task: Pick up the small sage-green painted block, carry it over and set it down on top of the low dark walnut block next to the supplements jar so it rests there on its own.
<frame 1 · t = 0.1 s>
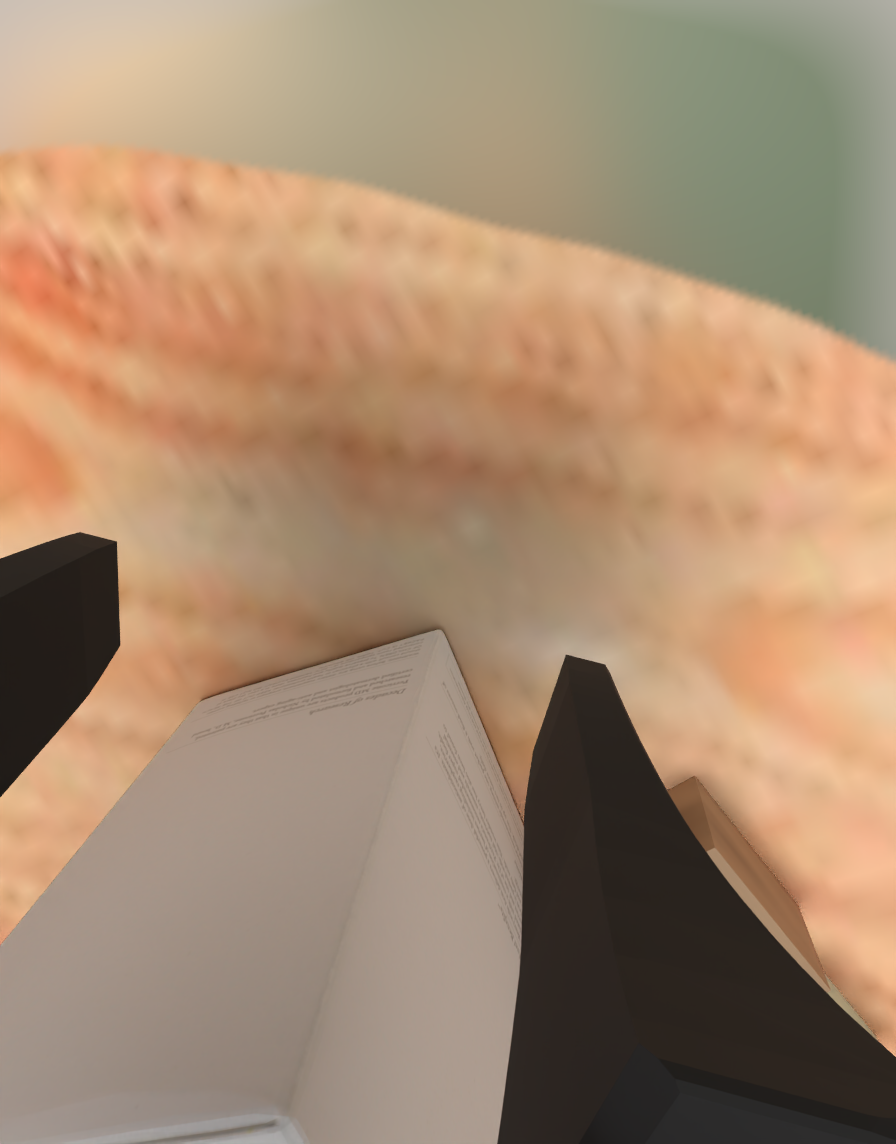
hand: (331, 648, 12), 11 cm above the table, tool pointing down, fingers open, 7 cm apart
supplement box: (368, 774, 26), on the table
sage block: (781, 1018, 27), on the table
walnut block: (665, 878, 26), on the table
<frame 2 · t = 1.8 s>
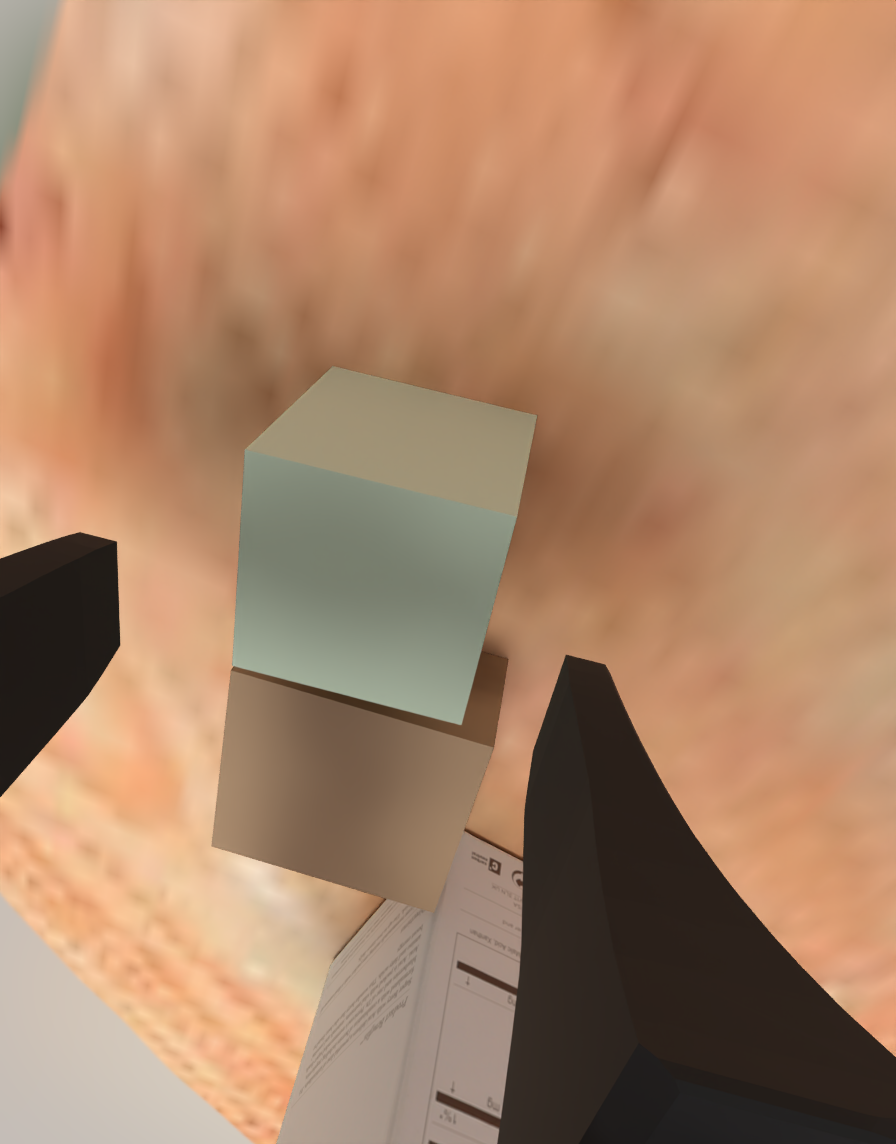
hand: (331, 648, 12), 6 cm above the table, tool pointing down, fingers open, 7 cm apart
supplement box: (504, 949, 26), on the table
sage block: (417, 483, 18), on the table
walnut block: (375, 707, 22), on the table
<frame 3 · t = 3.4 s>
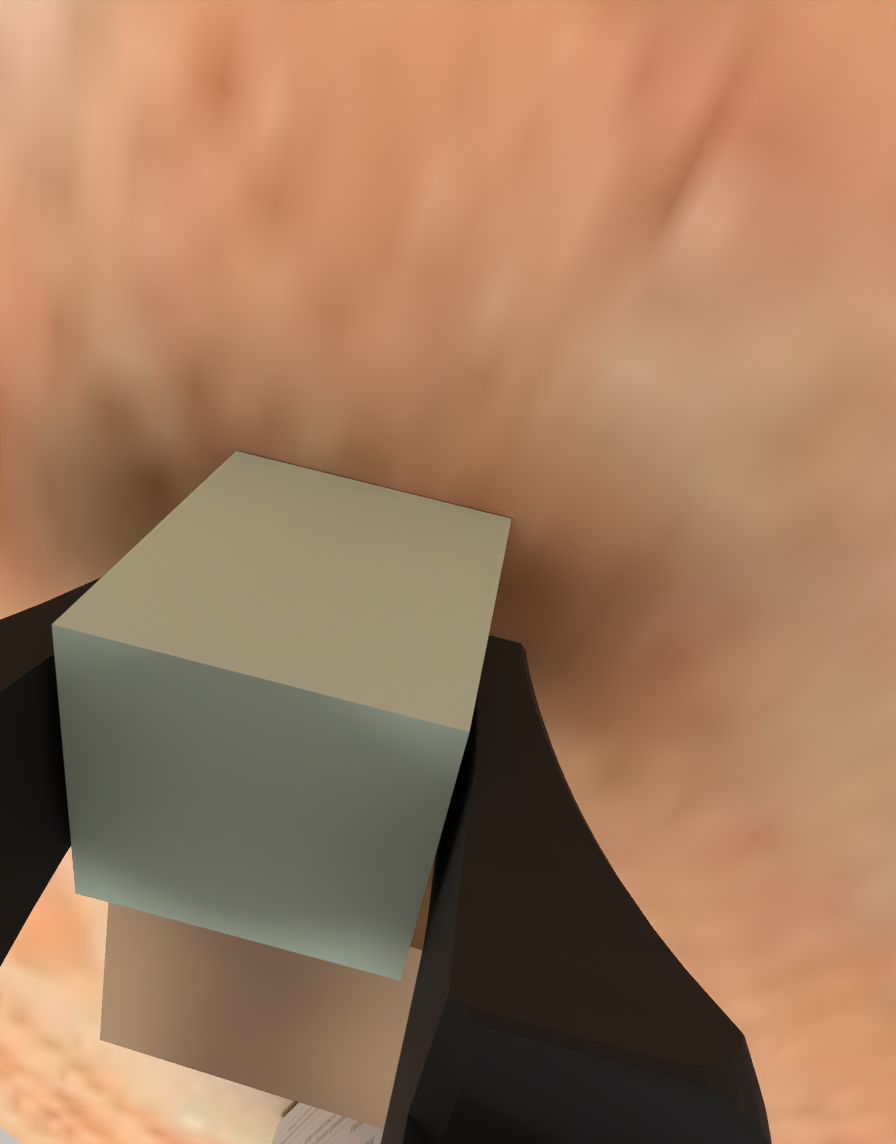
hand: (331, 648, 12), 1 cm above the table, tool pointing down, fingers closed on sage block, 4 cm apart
supplement box: (483, 1113, 22), on the table
sage block: (354, 600, 14), on the table, touching gripper
walnut block: (317, 852, 17), on the table
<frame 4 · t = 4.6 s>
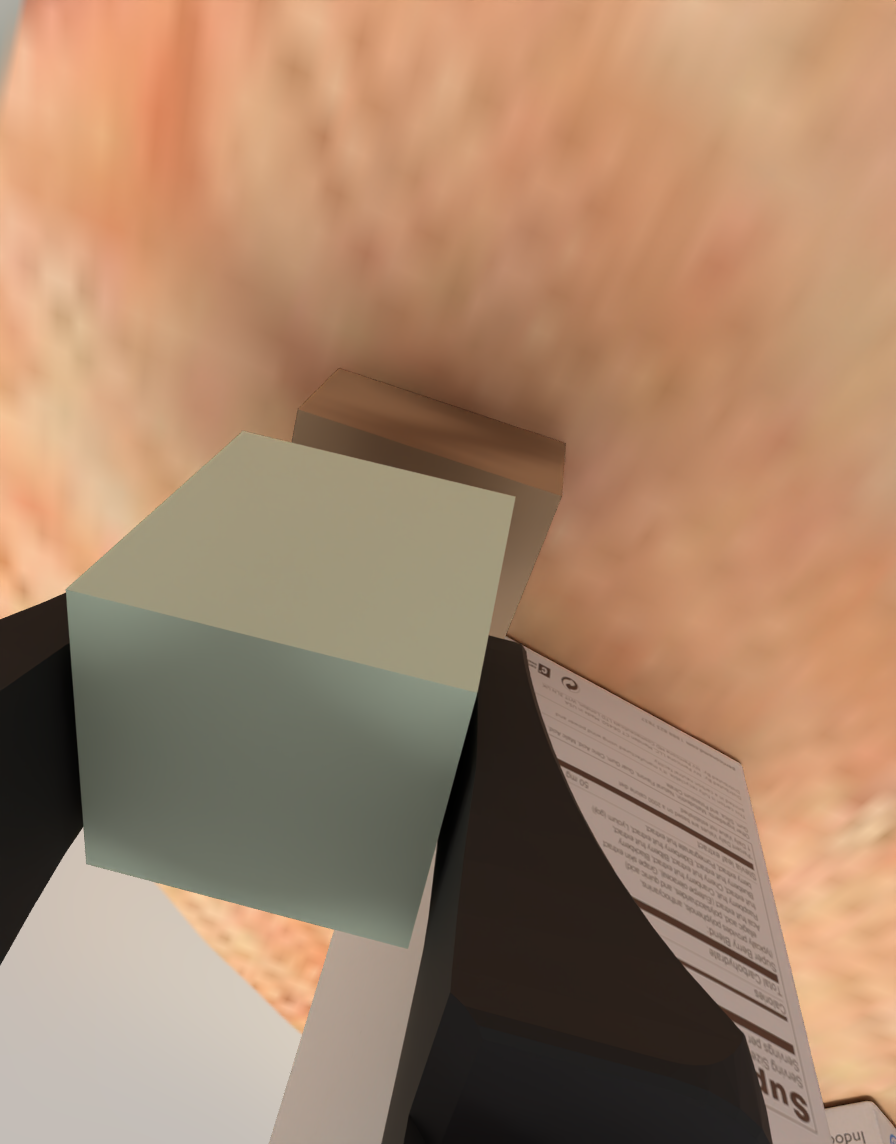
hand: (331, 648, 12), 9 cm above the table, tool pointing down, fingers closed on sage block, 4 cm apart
supplement box: (548, 779, 26), on the table
sage block: (360, 580, 14), point 8 cm above the table, touching gripper
walnut block: (423, 503, 22), on the table
when the fingers open (6 cm above the table, at t = 6.1 s): sage block drops 1 cm, resting on walnut block.
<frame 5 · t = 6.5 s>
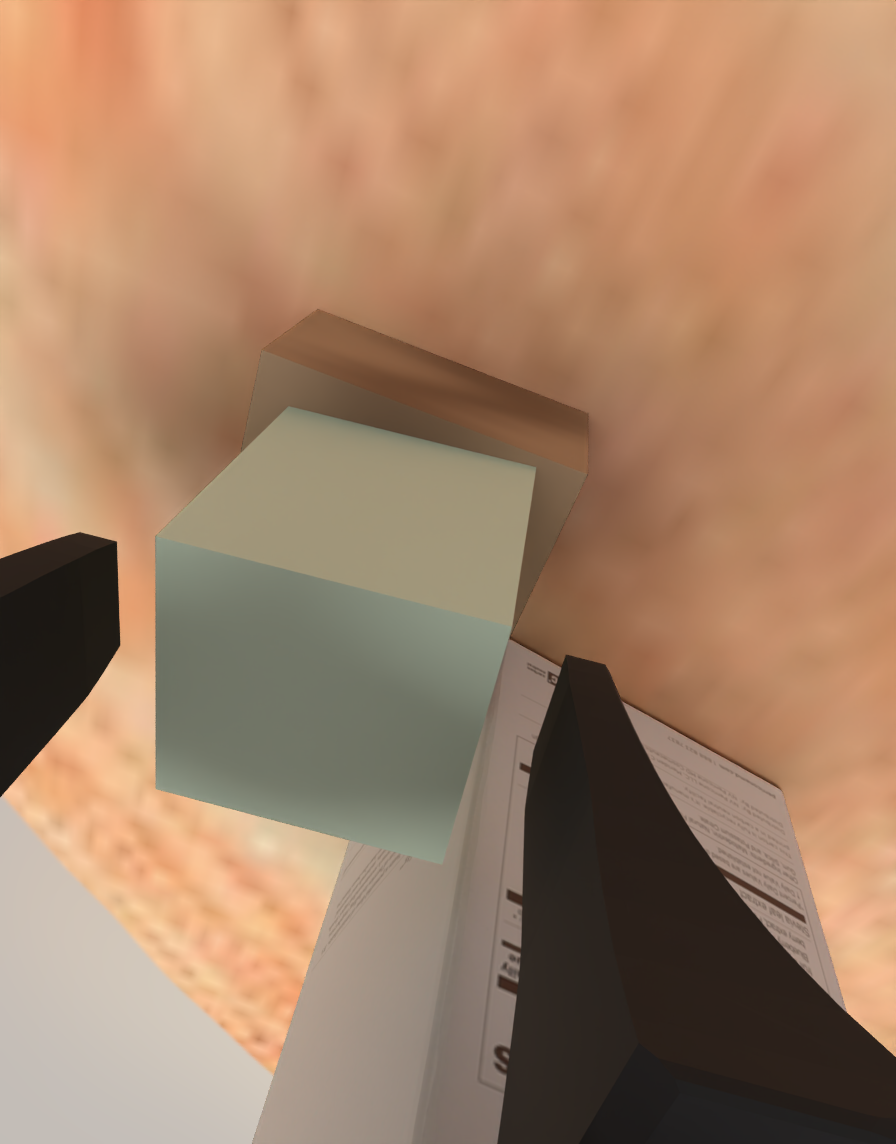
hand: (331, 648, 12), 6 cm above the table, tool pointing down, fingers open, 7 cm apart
supplement box: (556, 804, 22), on the table
sage block: (392, 545, 15), point 3 cm above the table, touching walnut block
walnut block: (413, 480, 18), on the table, touching sage block
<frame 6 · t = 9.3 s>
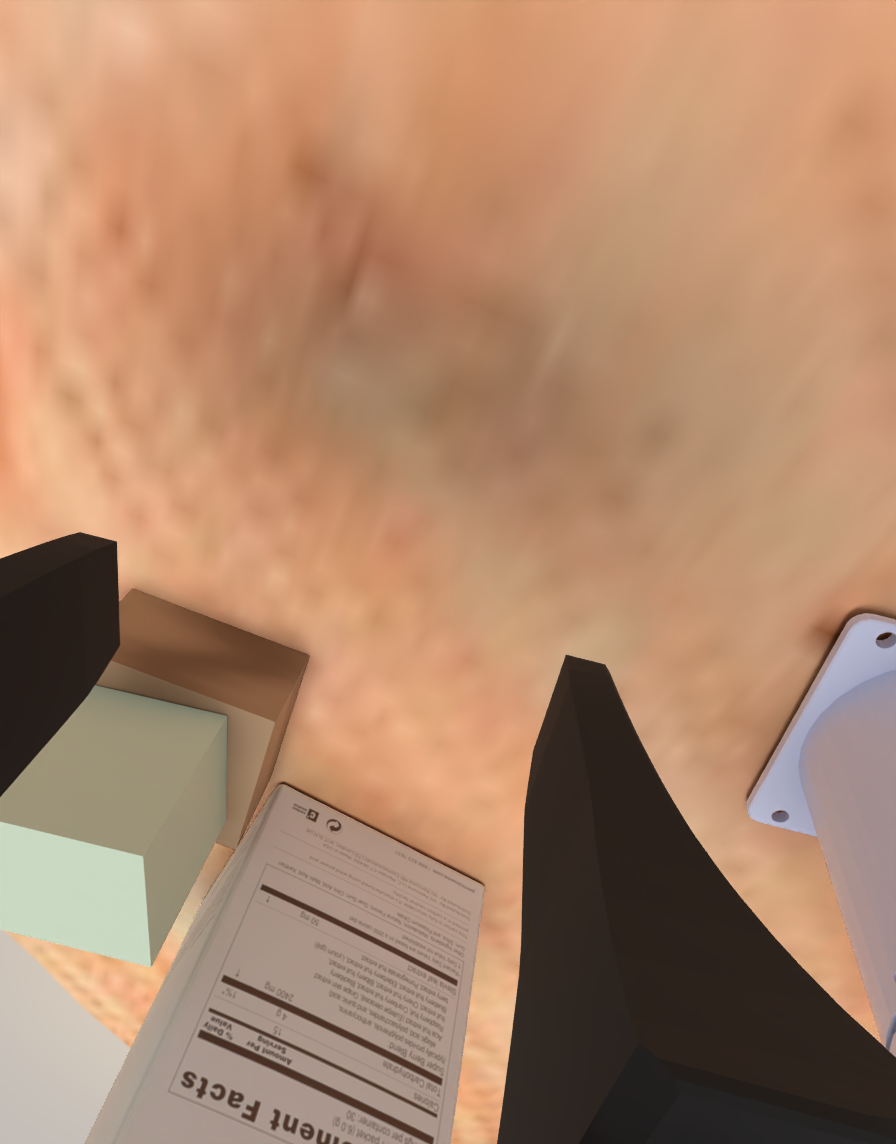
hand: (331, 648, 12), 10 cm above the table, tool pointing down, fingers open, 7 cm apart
supplement box: (340, 889, 31), on the table
sage block: (155, 754, 24), point 3 cm above the table, touching walnut block
walnut block: (208, 684, 27), on the table, touching sage block
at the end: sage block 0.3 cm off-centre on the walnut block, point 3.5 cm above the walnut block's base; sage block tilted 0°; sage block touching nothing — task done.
